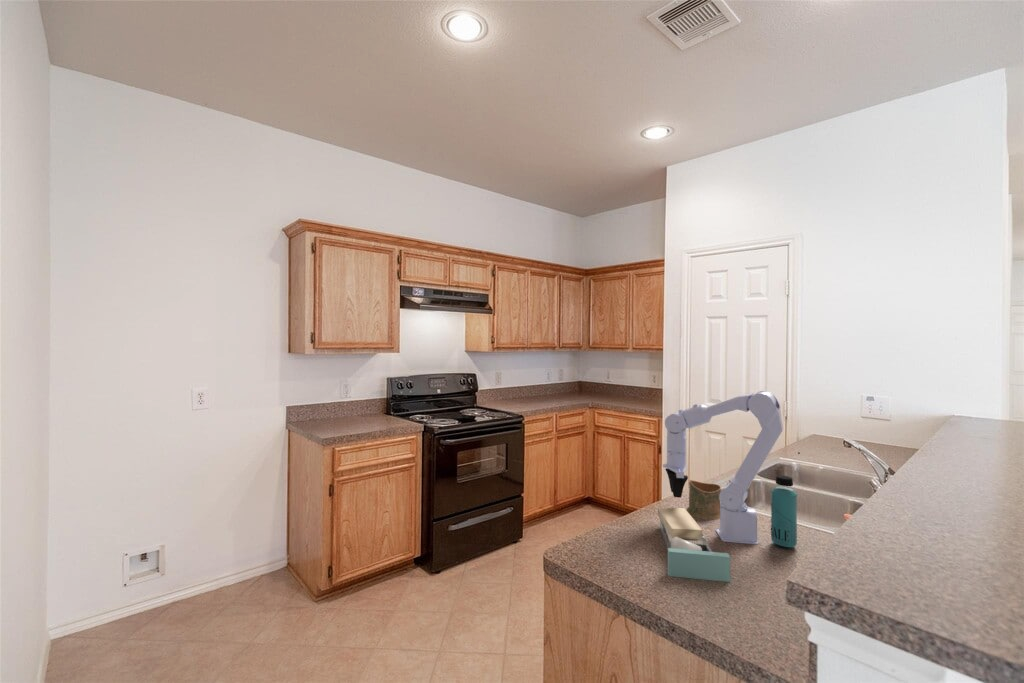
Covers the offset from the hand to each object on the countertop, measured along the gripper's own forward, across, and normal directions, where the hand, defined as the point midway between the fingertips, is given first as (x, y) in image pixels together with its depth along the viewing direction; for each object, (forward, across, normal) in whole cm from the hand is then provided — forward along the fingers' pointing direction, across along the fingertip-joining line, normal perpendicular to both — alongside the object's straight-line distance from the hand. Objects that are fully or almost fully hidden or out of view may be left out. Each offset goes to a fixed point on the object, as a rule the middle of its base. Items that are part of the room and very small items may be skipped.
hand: (676, 494), depth 143 cm
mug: (+10, -11, +14) cm, 20 cm away
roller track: (+9, +18, 0) cm, 20 cm away
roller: (+7, +23, -2) cm, 24 cm away
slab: (+5, +12, -1) cm, 13 cm away
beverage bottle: (+10, +11, +27) cm, 31 cm away
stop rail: (+9, +32, 0) cm, 34 cm away
